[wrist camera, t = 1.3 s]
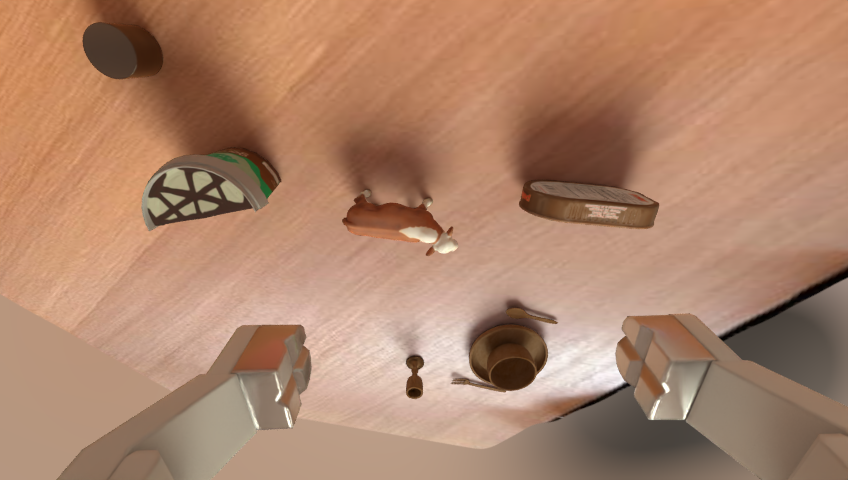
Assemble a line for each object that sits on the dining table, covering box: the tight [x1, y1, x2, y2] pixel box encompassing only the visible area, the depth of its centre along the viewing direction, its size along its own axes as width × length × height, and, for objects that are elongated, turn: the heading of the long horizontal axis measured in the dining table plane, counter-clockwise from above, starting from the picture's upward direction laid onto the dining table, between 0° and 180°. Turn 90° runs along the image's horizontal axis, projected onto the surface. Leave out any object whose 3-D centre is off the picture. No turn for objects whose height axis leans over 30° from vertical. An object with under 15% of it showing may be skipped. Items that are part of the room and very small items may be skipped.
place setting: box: [406, 308, 558, 399], centre depth 54 cm, size 18×20×6 cm
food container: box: [142, 148, 281, 231], centre depth 39 cm, size 12×6×10 cm, turn 101°
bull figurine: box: [342, 190, 458, 256], centre depth 43 cm, size 4×13×8 cm, turn 77°
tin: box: [519, 180, 659, 229], centre depth 42 cm, size 15×3×8 cm, turn 84°
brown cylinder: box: [83, 22, 163, 79], centre depth 37 cm, size 5×5×4 cm
